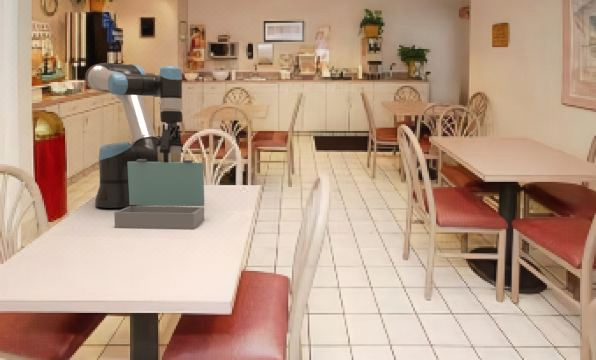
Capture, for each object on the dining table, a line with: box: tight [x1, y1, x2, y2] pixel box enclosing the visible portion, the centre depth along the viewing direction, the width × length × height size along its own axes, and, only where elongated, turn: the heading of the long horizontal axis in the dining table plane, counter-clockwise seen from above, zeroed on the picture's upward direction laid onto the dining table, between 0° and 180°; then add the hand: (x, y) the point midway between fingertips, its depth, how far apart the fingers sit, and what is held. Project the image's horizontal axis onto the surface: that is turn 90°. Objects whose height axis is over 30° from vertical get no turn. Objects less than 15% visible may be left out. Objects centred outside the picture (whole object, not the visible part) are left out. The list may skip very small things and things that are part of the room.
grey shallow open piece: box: [114, 205, 205, 230], centre depth 207 cm, size 15×26×5 cm, turn 86°
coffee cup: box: [156, 139, 184, 162], centre depth 216 cm, size 9×9×15 cm
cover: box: [127, 159, 205, 207], centre depth 212 cm, size 16×26×2 cm
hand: (172, 171), depth 219 cm, fingers open, 13 cm apart
